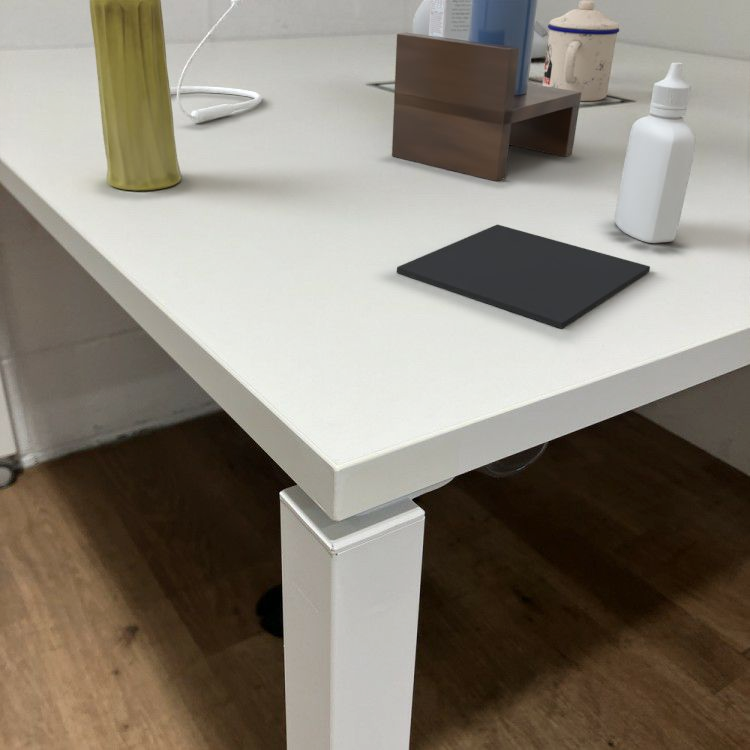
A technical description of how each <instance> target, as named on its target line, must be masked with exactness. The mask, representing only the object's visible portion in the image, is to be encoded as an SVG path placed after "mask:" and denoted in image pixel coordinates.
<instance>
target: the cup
mask: <svg viewBox="0 0 750 750" xmlns="http://www.w3.org/2000/svg"><path fill="white" fill-rule="evenodd" d="M538 5H539V0H471V11H470V24H469V36H468V41H474V42H482V43H489V44H497V45H504V46H512V47H519V48H520V49H519V58H518V67H517V76H516V85H515V94H514V96H518V95H523V94H526V93H527V90H528V84H529V81H530V72H531V64H532V58H531V56H532V48H533V39H534V31H535V22H536V21H537V15H538V14H537V13H538Z"/></svg>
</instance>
